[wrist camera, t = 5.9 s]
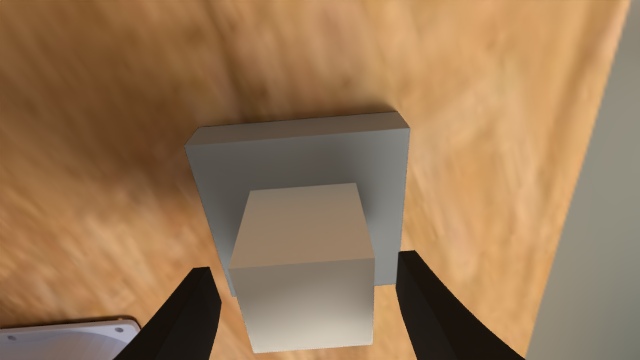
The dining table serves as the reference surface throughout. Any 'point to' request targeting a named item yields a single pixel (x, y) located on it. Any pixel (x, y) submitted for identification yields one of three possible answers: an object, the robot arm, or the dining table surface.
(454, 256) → the dining table surface
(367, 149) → the stud block
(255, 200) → the cream colored cube
